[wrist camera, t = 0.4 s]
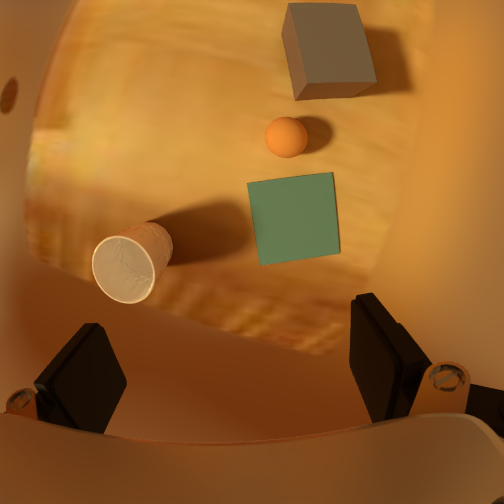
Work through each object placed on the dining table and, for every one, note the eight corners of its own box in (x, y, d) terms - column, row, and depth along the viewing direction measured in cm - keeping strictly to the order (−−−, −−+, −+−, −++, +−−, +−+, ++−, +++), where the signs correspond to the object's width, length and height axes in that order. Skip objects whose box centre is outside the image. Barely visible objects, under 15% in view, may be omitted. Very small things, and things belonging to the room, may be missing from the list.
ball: (261, 122, 34) (262, 116, 29) (300, 118, 34) (307, 111, 29) (267, 160, 36) (269, 160, 31) (306, 155, 35) (314, 154, 31)
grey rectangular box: (281, 33, 30) (288, 3, 22) (336, 32, 30) (355, 4, 21) (294, 100, 33) (307, 83, 25) (351, 97, 33) (377, 82, 24)
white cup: (187, 234, 39) (166, 258, 29) (164, 281, 41) (140, 315, 31) (137, 207, 37) (104, 222, 28) (118, 255, 40) (84, 281, 30)
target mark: (247, 183, 37) (247, 183, 36) (331, 172, 36) (332, 172, 36) (260, 264, 40) (259, 265, 40) (339, 253, 39) (339, 253, 39)
